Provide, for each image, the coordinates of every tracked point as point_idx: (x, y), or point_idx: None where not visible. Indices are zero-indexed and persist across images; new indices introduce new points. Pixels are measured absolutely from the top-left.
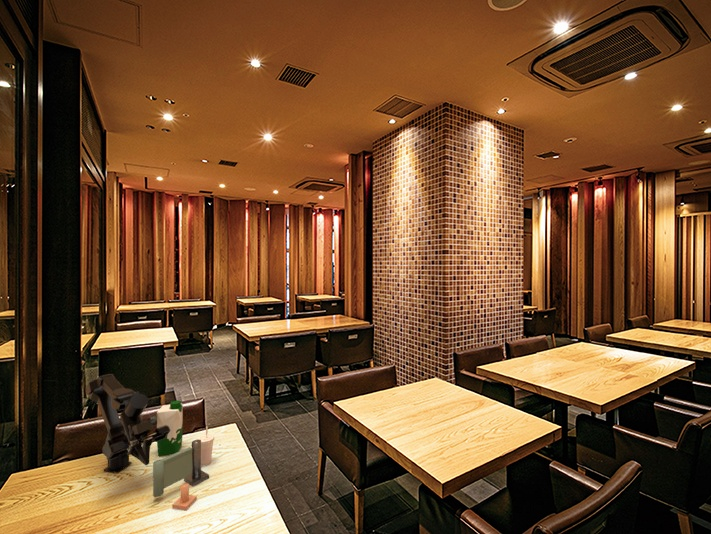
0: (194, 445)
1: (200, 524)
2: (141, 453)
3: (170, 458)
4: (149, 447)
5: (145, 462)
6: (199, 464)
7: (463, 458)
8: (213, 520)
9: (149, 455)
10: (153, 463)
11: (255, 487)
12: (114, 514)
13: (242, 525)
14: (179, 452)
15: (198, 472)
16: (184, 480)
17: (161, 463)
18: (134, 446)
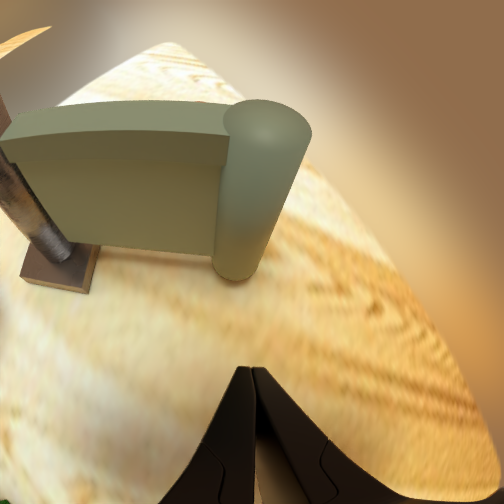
0: (3, 106)
1: (230, 95)
2: (331, 457)
3: (173, 102)
4: (178, 498)
5: (272, 383)
6: None
7: (18, 37)
8: (206, 86)
9: (217, 410)
10: (308, 137)
11: (75, 98)
12: (378, 330)
13: (191, 58)
14: (74, 120)
15: None
16: (87, 288)
17: (258, 104)
18: (496, 494)
